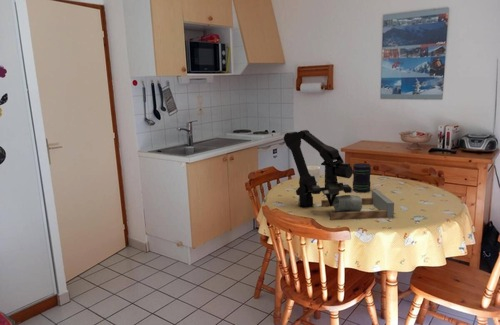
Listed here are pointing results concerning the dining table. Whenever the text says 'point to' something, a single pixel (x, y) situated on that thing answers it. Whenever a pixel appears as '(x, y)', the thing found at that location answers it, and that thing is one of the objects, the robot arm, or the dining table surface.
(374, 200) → the end stop
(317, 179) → the foam cup
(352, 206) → the spool
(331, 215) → the guide rails
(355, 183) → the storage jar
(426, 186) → the dining table surface
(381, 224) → the dining table surface
